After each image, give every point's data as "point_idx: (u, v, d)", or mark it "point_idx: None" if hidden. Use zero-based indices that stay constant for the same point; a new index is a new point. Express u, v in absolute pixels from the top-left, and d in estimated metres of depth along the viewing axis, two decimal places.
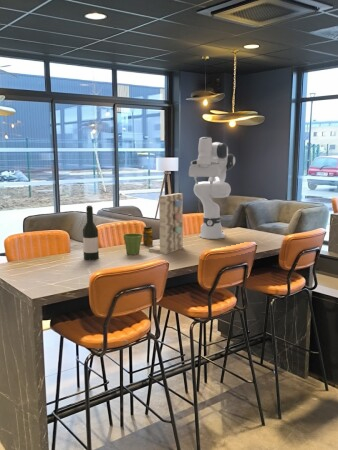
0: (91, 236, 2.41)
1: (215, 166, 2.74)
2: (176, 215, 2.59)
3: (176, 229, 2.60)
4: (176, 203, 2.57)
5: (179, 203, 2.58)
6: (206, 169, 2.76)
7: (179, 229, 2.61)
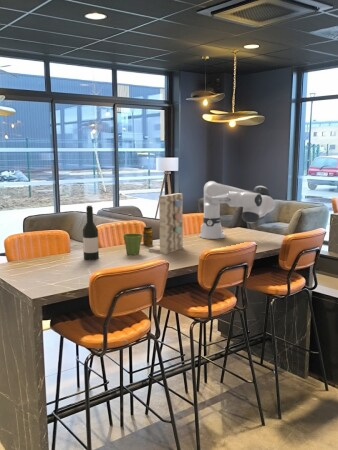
0: (91, 236, 2.41)
1: (223, 196, 2.47)
2: (176, 215, 2.59)
3: (176, 229, 2.60)
4: (176, 203, 2.57)
5: (179, 203, 2.58)
6: (224, 196, 2.53)
7: (179, 229, 2.61)
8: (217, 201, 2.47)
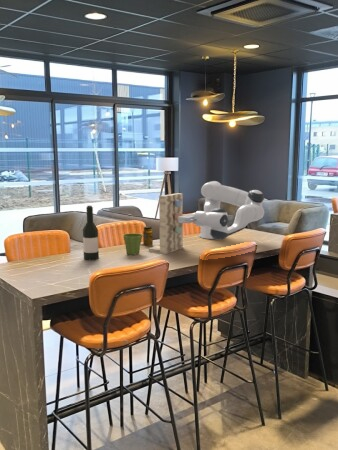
0: (92, 236, 2.41)
1: (189, 216, 2.47)
2: (176, 215, 2.59)
3: (176, 229, 2.60)
4: (176, 203, 2.57)
5: (179, 203, 2.58)
6: (191, 215, 2.53)
7: (179, 229, 2.61)
8: (183, 221, 2.47)
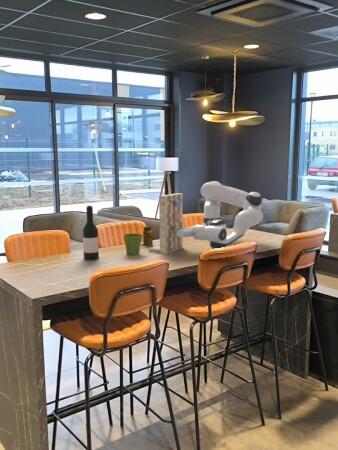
0: (91, 236, 2.41)
1: (188, 230, 2.49)
2: (174, 215, 2.59)
3: (175, 229, 2.60)
4: (176, 203, 2.57)
5: (179, 203, 2.58)
6: (190, 229, 2.55)
7: None
8: (182, 235, 2.49)
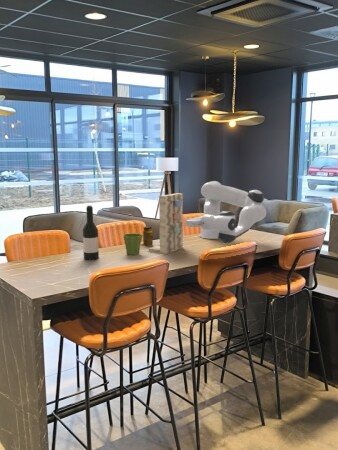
0: (91, 236, 2.41)
1: (197, 220, 2.44)
2: (174, 215, 2.59)
3: (174, 229, 2.60)
4: (176, 203, 2.57)
5: (179, 203, 2.58)
6: (199, 219, 2.50)
7: (177, 229, 2.61)
8: (190, 225, 2.44)
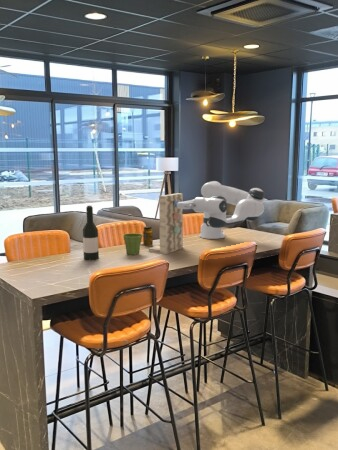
0: (91, 236, 2.41)
1: (188, 202, 2.46)
2: (174, 215, 2.59)
3: (174, 229, 2.60)
4: (175, 203, 2.58)
5: None
6: (190, 201, 2.52)
7: (177, 229, 2.61)
8: (182, 207, 2.46)
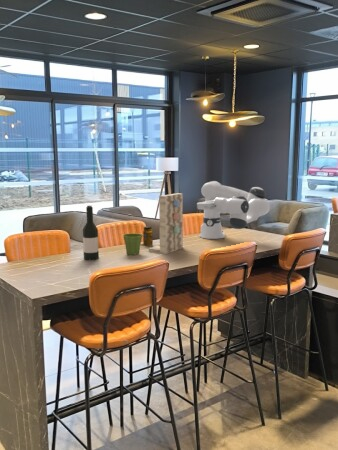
0: (91, 236, 2.41)
1: (209, 203, 2.40)
2: (174, 215, 2.59)
3: (174, 229, 2.60)
4: (174, 203, 2.58)
5: (177, 203, 2.59)
6: (210, 202, 2.46)
7: (177, 229, 2.61)
8: (202, 207, 2.40)
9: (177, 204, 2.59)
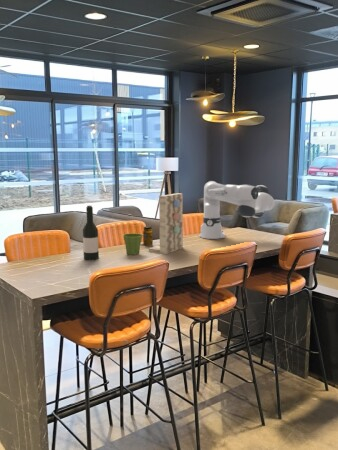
0: (91, 236, 2.41)
1: (220, 189, 2.47)
2: (174, 215, 2.59)
3: (174, 229, 2.60)
4: (174, 203, 2.58)
5: (177, 203, 2.59)
6: (221, 189, 2.53)
7: (177, 229, 2.61)
8: (213, 194, 2.47)
9: (177, 204, 2.59)
